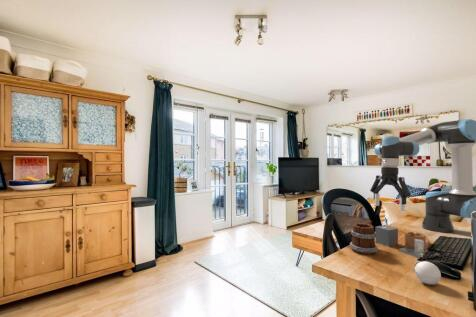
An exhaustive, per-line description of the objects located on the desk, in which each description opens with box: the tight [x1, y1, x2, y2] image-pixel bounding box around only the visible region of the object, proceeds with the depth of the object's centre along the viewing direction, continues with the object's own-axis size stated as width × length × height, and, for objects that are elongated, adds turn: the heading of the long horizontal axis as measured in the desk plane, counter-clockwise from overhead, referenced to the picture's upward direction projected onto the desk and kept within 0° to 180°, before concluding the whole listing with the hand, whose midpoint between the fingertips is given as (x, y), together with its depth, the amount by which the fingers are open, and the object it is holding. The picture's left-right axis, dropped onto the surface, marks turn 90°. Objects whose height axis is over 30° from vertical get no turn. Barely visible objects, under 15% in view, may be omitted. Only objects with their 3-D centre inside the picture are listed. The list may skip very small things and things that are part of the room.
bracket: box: [404, 231, 430, 250], centre depth 124 cm, size 18×8×7 cm, turn 135°
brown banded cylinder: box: [349, 219, 379, 256], centre depth 117 cm, size 12×14×15 cm
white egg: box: [413, 260, 442, 286], centre depth 85 cm, size 10×7×7 cm
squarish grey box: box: [375, 224, 399, 247], centre depth 126 cm, size 7×7×8 cm
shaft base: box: [398, 239, 440, 259], centre depth 113 cm, size 11×11×6 cm
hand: (388, 208), depth 127 cm, fingers open, 13 cm apart
